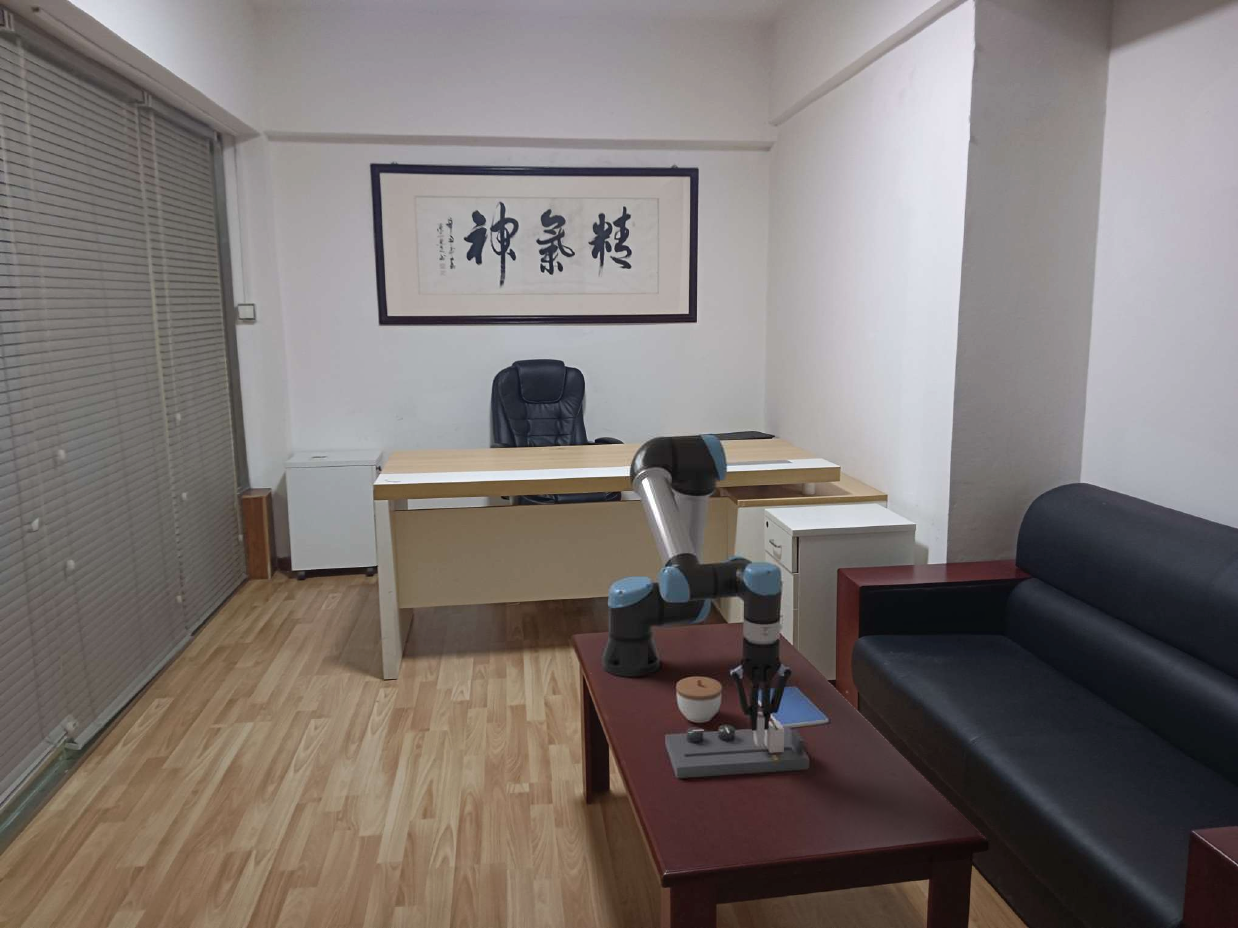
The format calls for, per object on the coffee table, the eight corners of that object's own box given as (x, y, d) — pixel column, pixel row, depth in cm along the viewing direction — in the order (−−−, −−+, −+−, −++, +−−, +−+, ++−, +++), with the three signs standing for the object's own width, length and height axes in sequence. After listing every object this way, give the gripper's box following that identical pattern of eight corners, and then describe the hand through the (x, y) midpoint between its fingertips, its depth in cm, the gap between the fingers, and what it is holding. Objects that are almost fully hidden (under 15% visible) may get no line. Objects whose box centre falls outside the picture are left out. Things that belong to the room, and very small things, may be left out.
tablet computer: (748, 694, 222) (748, 689, 222) (795, 689, 225) (795, 684, 225) (779, 731, 204) (779, 725, 203) (830, 724, 207) (830, 719, 206)
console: (665, 744, 197) (665, 721, 196) (788, 736, 200) (789, 713, 199) (676, 778, 183) (676, 753, 182) (809, 768, 186) (809, 745, 185)
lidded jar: (719, 729, 204) (720, 690, 202) (672, 725, 206) (673, 687, 204) (723, 708, 214) (724, 671, 212) (679, 704, 216) (679, 668, 214)
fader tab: (764, 743, 191) (765, 721, 190) (778, 742, 192) (778, 720, 191) (769, 752, 187) (770, 730, 186) (783, 751, 188) (784, 729, 187)
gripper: (734, 646, 180) (732, 754, 185) (797, 643, 182) (794, 750, 186) (726, 632, 187) (724, 736, 192) (786, 629, 189) (783, 732, 193)
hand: (758, 743), depth 189 cm, fingers closed
